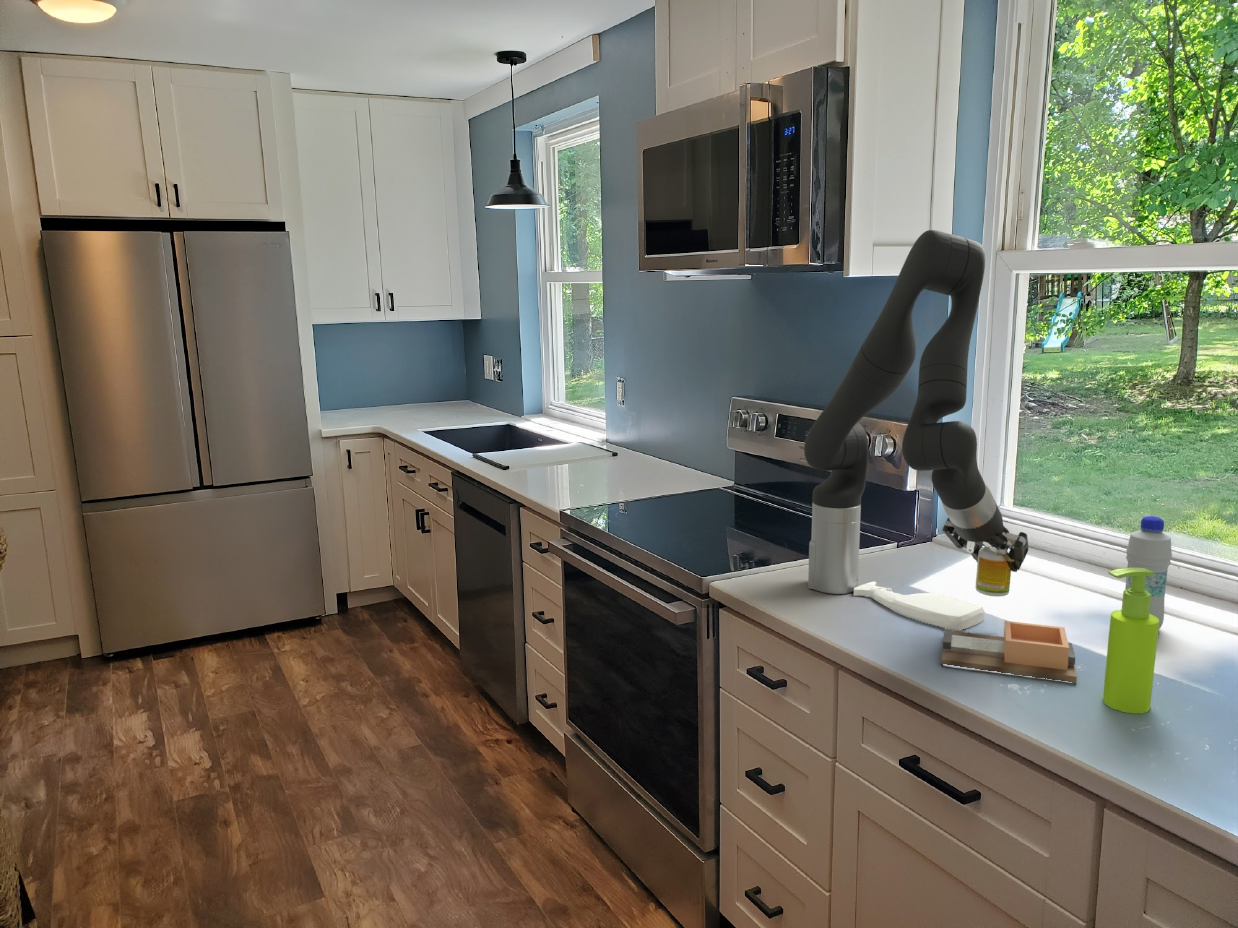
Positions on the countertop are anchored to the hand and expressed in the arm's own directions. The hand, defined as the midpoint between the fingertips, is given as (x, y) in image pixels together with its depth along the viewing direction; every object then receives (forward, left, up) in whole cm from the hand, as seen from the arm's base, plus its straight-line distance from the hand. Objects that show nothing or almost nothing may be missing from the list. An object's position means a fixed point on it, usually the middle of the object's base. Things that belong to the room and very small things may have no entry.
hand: (998, 563), depth 154 cm
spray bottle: (-14, +6, -12) cm, 19 cm away
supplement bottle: (-1, -2, -5) cm, 5 cm away
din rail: (+2, -14, -10) cm, 18 cm away
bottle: (+24, +7, -12) cm, 27 cm away
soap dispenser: (+17, -26, -12) cm, 33 cm away
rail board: (+2, -14, -12) cm, 18 cm away
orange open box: (+6, -14, -10) cm, 18 cm away
